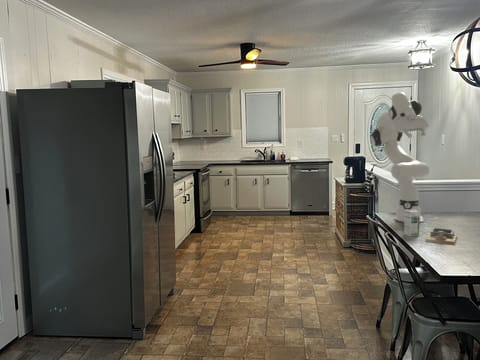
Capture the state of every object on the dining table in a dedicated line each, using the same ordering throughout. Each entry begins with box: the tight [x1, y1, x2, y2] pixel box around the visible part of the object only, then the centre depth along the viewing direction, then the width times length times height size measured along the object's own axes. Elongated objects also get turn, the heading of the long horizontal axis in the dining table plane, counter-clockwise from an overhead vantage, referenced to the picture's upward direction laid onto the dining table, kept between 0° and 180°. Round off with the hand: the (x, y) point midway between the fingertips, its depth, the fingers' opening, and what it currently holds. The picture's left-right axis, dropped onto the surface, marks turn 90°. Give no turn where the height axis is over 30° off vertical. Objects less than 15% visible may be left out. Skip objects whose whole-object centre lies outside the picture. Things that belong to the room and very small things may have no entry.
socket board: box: [425, 227, 458, 245], centre depth 233 cm, size 18×14×6 cm
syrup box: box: [403, 210, 420, 237], centre depth 242 cm, size 6×6×14 cm
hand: (417, 136), depth 241 cm, fingers open, 8 cm apart
